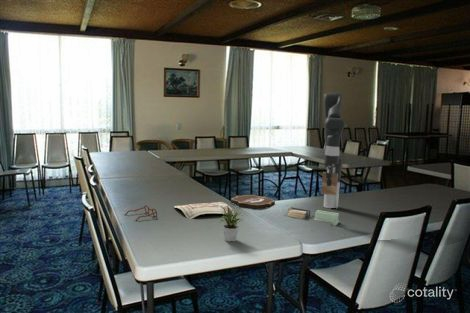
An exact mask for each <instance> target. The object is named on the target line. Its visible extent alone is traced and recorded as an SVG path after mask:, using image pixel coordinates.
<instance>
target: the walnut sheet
mask: <svg viewBox="0 0 470 313" xmlns="http://www.w3.org/2000/svg"><path fill="white" fill-rule="evenodd" d="M331 174H332V173H331ZM328 176H330V175H328ZM337 180H338V174H337V173H333V175H332V180H331V186H327V178H326V171H323V172H322V177H321V192H320V193H321V195H324V194H327V195H334V196H336V193H337Z"/></svg>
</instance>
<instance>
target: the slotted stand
mask: <svg viewBox="0 0 470 313" xmlns="http://www.w3.org/2000/svg"><path fill="white" fill-rule="evenodd" d="M314 215H315V216H314V219H313V220H315V221H322V222H326V223H327V222H328V223H329V225H330V226H334V227H336V226H337V225H338V224H339V215H340V213H337V212H332V211H324V210H321V209H317V210H316V211H315V213H314Z"/></svg>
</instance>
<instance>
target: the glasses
mask: <svg viewBox="0 0 470 313" xmlns="http://www.w3.org/2000/svg"><path fill="white" fill-rule="evenodd" d="M146 207H147V208H146ZM143 209H144V211H145V213H146V214H145V215H140V216H138V217H137V218H136V219H135V220H134V221H135V222H137V221H138V220H140V218H147V217H149V216H153V217H154V218H157V217H158V212H157V209H156V208H150V207H149V206H148V205H144V206H142V207H140V208H138V209H137V208H136V209H131V210H127V212H125V214H124V216H127V215H128V213H129V212H137V211H140V210H143ZM147 210H148V211H147ZM150 212H152V213H150ZM149 213H150V214H149Z"/></svg>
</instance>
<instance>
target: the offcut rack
mask: <svg viewBox="0 0 470 313" xmlns="http://www.w3.org/2000/svg"><path fill="white" fill-rule="evenodd" d="M290 210H298V211H305V212H306V217H305V218H303V219H301V218H296V217H290V216H288V213H289V211H290ZM311 212H312V210H311V209H304V208H299V207H293V206H291V207H290V208H288V211H287V212H286V213H285V214H283V215H282V217H287V218H293V219H297V220H298V219H299V220H304V221H308V220H309V219H310V218H311V217H312V216H313V215H312V214H311Z"/></svg>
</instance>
